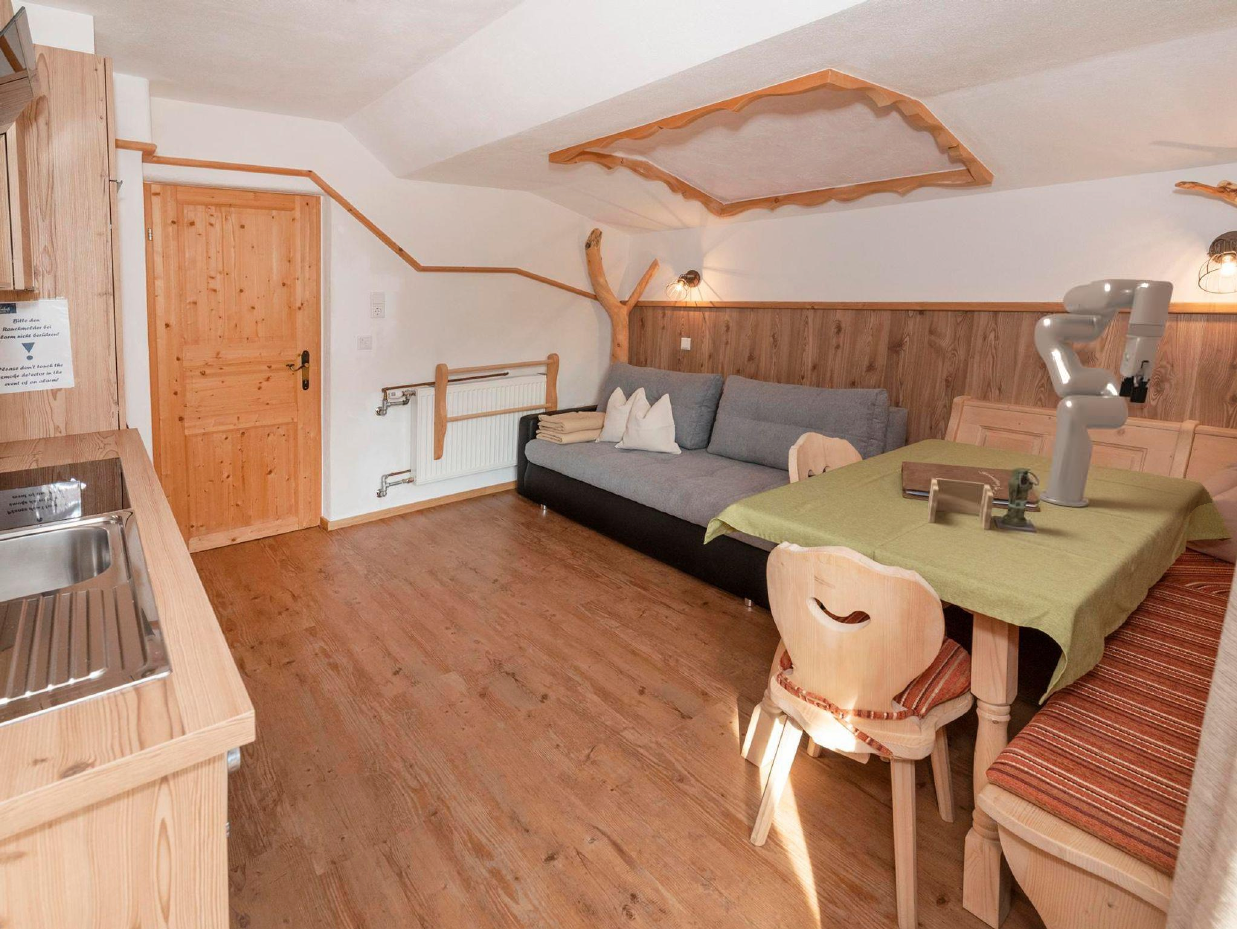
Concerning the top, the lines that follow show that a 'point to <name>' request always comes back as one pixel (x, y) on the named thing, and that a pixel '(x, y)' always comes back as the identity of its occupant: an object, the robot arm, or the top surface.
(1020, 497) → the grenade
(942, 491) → the light wood u-shaped frame
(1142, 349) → the robot arm
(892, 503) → the top surface
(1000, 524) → the coaster
